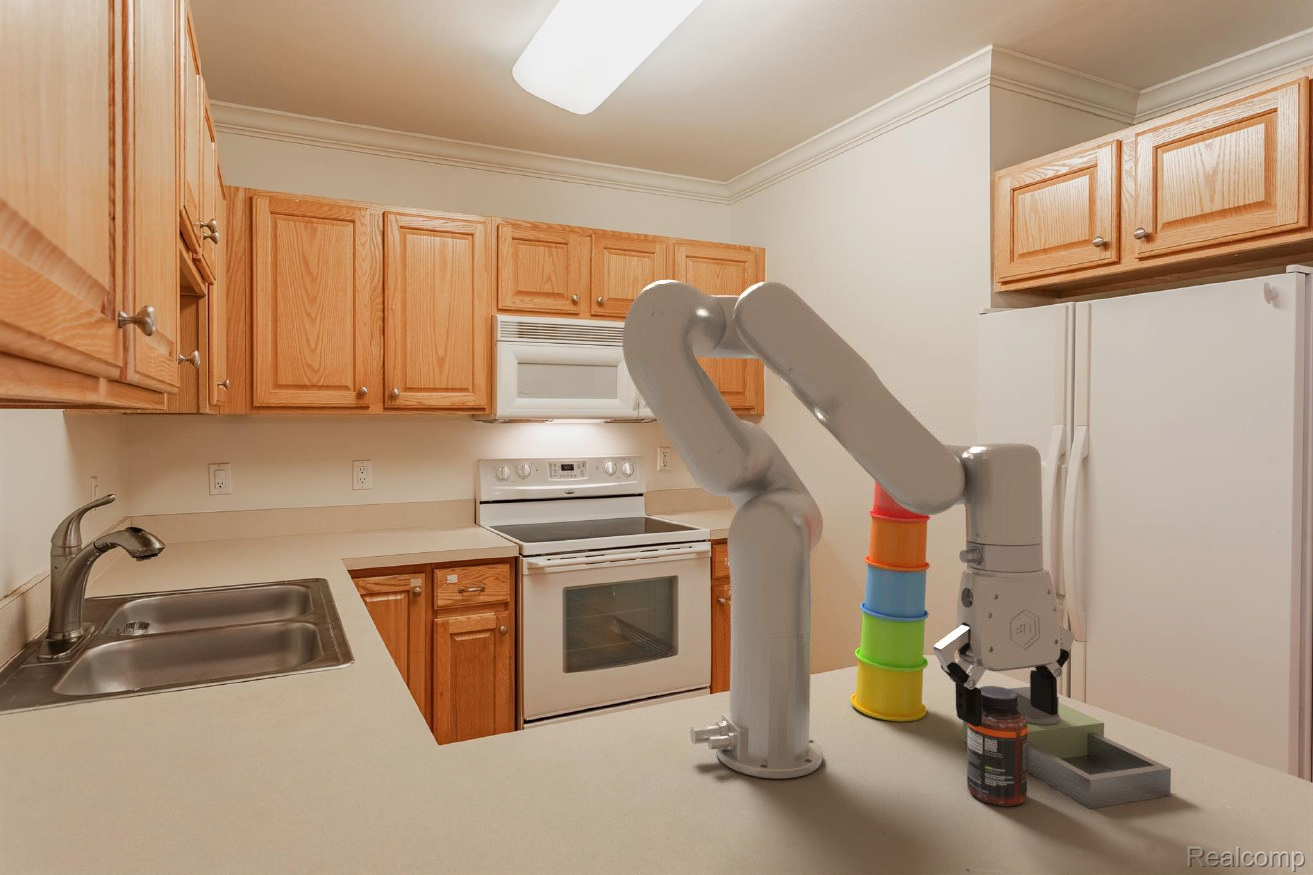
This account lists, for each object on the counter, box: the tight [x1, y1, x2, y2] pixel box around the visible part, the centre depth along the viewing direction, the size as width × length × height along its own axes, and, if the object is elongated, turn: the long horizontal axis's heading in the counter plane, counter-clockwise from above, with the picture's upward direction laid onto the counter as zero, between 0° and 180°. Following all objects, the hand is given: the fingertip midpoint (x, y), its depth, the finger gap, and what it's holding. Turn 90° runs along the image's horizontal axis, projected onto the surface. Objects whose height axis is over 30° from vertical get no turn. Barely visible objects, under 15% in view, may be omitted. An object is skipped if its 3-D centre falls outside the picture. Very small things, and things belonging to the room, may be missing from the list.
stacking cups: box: [850, 480, 931, 723], centre depth 106 cm, size 10×10×35 cm
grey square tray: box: [1027, 732, 1172, 810], centre depth 85 cm, size 11×10×3 cm
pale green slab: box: [962, 686, 1105, 759], centre depth 94 cm, size 14×8×7 cm, turn 106°
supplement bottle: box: [966, 685, 1028, 807], centre depth 82 cm, size 6×6×11 cm
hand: (1007, 716), depth 81 cm, fingers open, 9 cm apart
